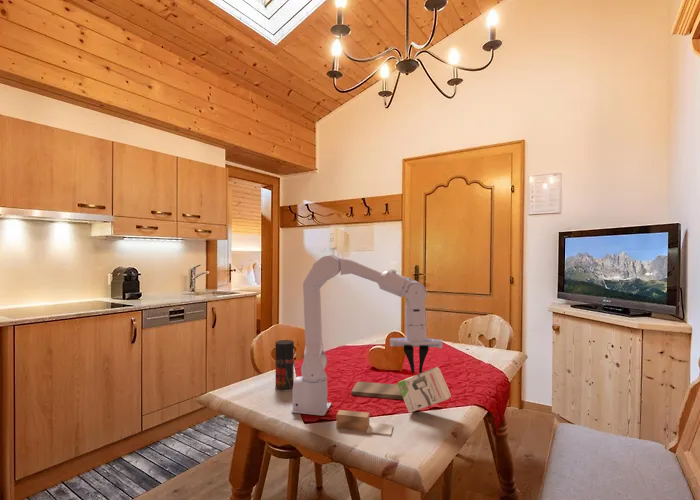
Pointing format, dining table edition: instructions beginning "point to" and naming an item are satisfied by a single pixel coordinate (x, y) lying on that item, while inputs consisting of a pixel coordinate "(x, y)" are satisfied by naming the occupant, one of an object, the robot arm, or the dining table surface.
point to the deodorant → (284, 365)
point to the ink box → (424, 389)
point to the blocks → (361, 423)
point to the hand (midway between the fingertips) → (416, 372)
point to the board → (377, 390)
